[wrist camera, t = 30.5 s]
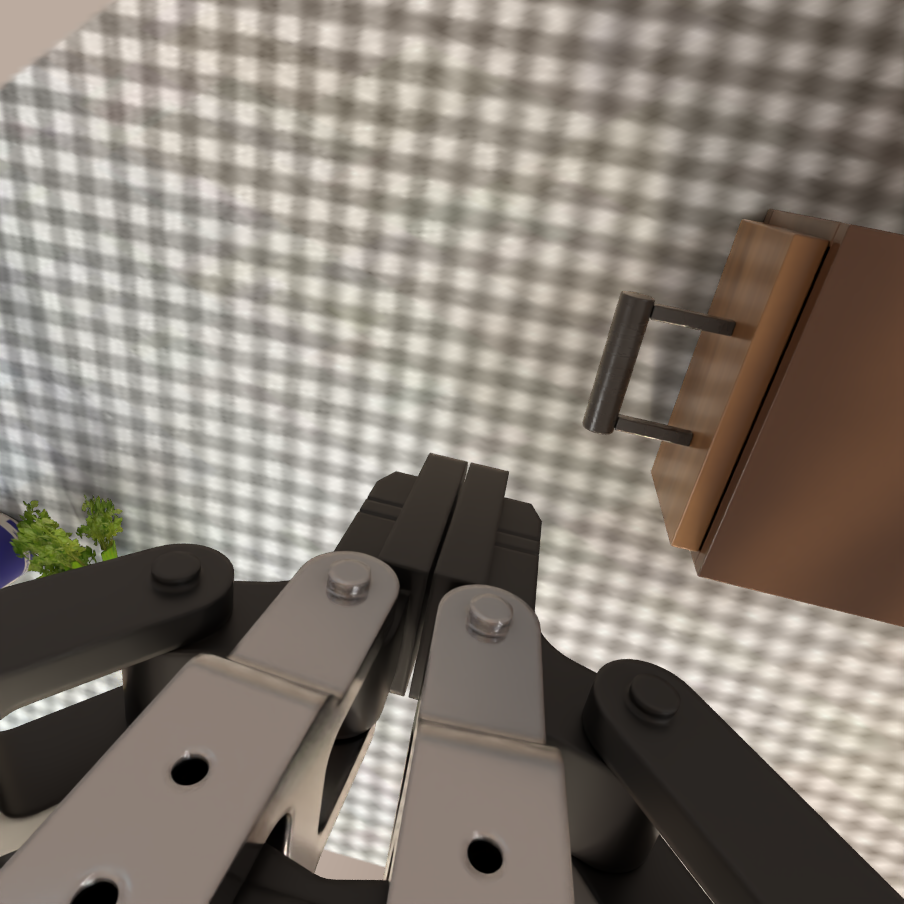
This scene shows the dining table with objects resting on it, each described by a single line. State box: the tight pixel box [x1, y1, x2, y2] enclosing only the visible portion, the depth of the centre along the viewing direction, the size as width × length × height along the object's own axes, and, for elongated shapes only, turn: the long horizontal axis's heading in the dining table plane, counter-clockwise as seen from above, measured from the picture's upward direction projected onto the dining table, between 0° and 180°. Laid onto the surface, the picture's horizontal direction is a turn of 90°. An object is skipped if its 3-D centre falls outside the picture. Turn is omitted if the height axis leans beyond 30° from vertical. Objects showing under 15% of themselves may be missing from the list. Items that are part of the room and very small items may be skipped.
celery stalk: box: [10, 495, 123, 579], centre depth 44 cm, size 6×7×30 cm
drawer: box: [583, 219, 829, 552], centre depth 27 cm, size 19×13×7 cm
